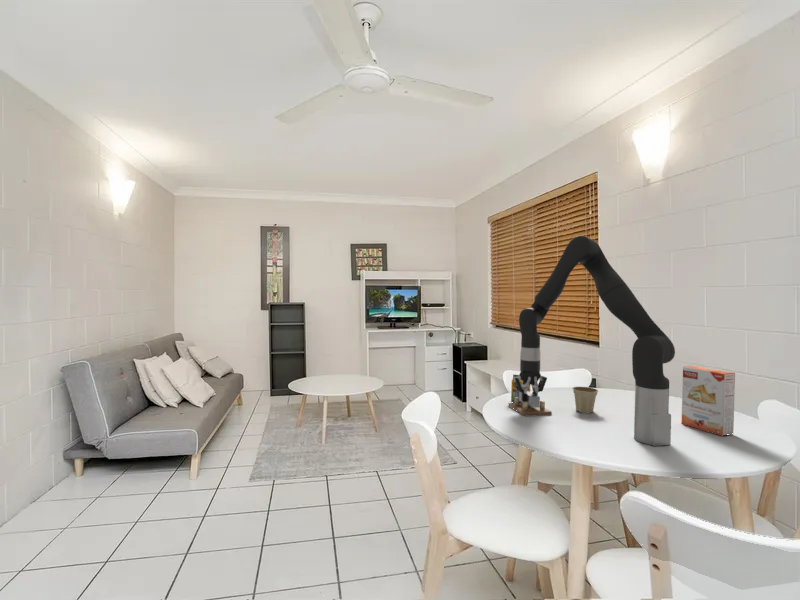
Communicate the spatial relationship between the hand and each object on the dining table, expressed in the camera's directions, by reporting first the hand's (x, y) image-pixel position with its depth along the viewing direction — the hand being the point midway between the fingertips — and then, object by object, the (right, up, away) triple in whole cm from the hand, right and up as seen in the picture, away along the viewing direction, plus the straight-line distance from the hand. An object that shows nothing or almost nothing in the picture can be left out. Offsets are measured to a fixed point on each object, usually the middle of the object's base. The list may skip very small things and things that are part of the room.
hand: (529, 402), depth 168 cm
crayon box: (-1, -3, +10) cm, 11 cm away
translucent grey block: (0, -1, 0) cm, 1 cm away
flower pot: (+22, -4, 0) cm, 22 cm away
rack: (0, -3, 0) cm, 3 cm away
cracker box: (+54, -5, -21) cm, 58 cm away
